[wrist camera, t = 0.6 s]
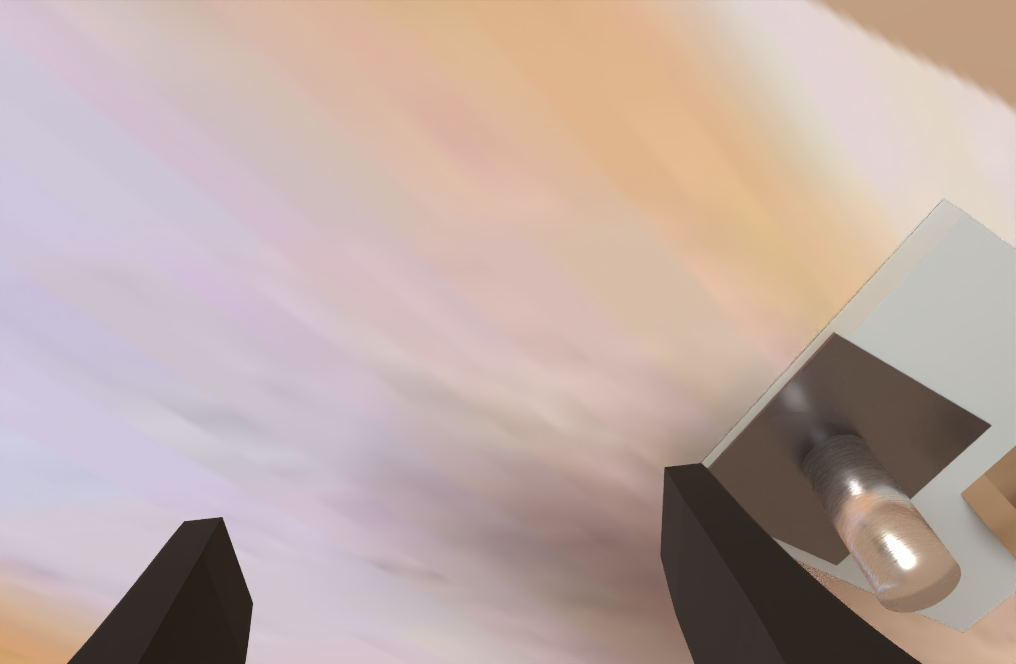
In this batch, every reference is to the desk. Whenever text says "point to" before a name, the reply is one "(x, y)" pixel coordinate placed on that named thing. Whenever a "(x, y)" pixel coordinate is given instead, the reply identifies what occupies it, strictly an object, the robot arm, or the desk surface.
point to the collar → (997, 499)
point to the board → (940, 385)
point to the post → (853, 470)
